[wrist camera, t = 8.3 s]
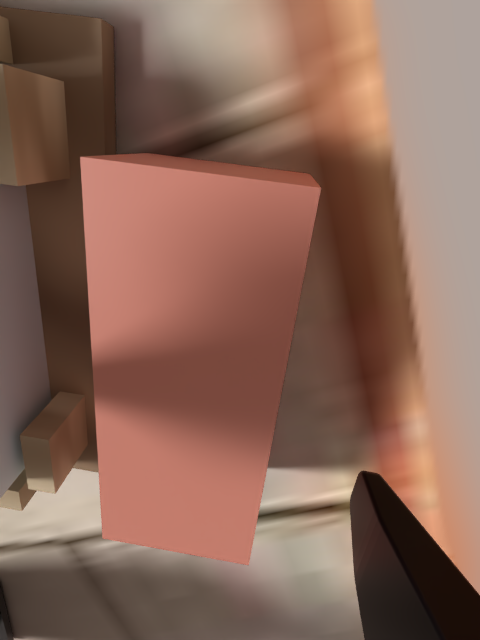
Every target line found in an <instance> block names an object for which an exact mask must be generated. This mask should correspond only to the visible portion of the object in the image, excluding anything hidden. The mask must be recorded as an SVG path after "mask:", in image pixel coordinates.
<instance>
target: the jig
mask: <svg viewBox="0 0 480 640" xmlns="http://www.w3.org/2000/svg"><path fill="white" fill-rule="evenodd" d="M101 155H116V127H115V72H114V27H113V26H111V25H110V24H108V23H107V22H105V21H104V20H103V19H101V18H93V17H85V16H76V15H68V14H59V13H51V12H42V11H33V10H25V9H16V8H8V7H0V184H5V185H12V186H23V185H26V193H27V201H28V209H29V218H30V226H31V234H32V243H33V251H34V259H35V268H36V276H37V284H38V293H39V301H40V309H41V318H42V326H43V334H44V343H45V351H46V359H47V368H48V376H49V384H50V393H51V401H50V403H49V404H48V405H47V406H46V407H45V408H44V409H43V410H42V411H41V412H40V413H39V415H38V416H37V417H36V418H35V419H34V420H33V421H32V422H31V423H30V424H29V425H28V427H27V428H26V429H25V430H24V431H23V432H22V433H21V434H20V441H21V447H22V453H23V459H24V465H25V469H24V470H23V471H22V472H21V474H20V475H19V476H18V477H17V478H16V480H15V481H14V482H13V483H12V485H11V486H10V487H9V488H8V490H7V491H6V492H5V493H4V495H3V496H2V497H1V498H0V507H3V508H8V509H14V510H19V511H22V510H23V509H24V507H25V506H26V505H27V503H28V502H29V501H30V499H31V498H32V496H33V495H34V494H35V492H36V491H43V492H48V493H54V494H55V493H56V492H57V490H58V489H59V487H60V486H61V484H62V483H63V481H64V480H65V478H66V477H67V475H68V474H69V472H70V471H71V469H72V468H76V469H82V470H88V471H93V472H99V468H98V451H97V434H96V417H95V400H94V383H93V367H92V350H91V333H90V316H89V299H88V282H87V265H86V249H85V232H84V215H83V198H82V181H81V164H80V157H83V156H101Z"/></svg>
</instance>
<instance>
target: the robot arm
mask: <svg viewBox="0 0 480 640" xmlns="http://www.w3.org/2000/svg"><path fill="white" fill-rule="evenodd" d="M350 515H351V531H352V547H353V564H354V577H355V584H356V591H357V597H358V603H359V609H360V615H361V621H362V627H363V633H364V639H365V640H480V595H479V594H478V593H477V591H476V590H475V589H474V588H473V586H472V585H471V584H470V583H469V582H468V580H467V579H466V578H465V577H464V576H463V574H462V573H461V572H460V571H459V570H458V568H457V567H456V566H455V565H454V564H453V562H452V561H451V560H450V559H449V557H448V556H447V555H446V554H445V553H444V551H443V550H442V549H441V548H440V547H439V545H438V544H437V543H436V542H435V541H434V539H433V538H432V537H431V536H430V534H429V533H428V532H427V531H426V530H425V528H424V527H423V526H422V525H421V524H420V522H419V521H418V520H417V519H416V518H415V516H414V515H413V514H412V513H411V511H410V510H409V509H408V508H407V507H406V505H405V504H404V503H403V502H402V501H401V499H400V498H399V497H398V496H397V495H396V493H395V492H394V491H393V490H392V488H391V487H390V486H389V485H388V484H387V482H386V481H385V480H384V479H383V478H382V476H381V475H379V474H378V473H373V472H368V471H361V472H360V473H359V474H358V477H357V480H356V483H355V486H354V489H353V491H352V494H351V499H350ZM0 640H14V639H13V635H12V630H11V626H10V622H9V618H8V614H7V610H6V606H5V602H4V597H3V593H2V589H1V586H0Z"/></svg>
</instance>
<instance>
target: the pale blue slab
mask: <svg viewBox="0 0 480 640" xmlns="http://www.w3.org/2000/svg"><path fill="white" fill-rule="evenodd" d="M50 401H51V393H50V384H49V376H48V368H47V359H46V351H45V343H44V334H43V326H42V318H41V309H40V301H39V293H38V284H37V276H36V268H35V259H34V251H33V243H32V234H31V226H30V218H29V209H28V201H27V193H26V185H23V186H12V185H5V184H0V498H1V497H2V496H3V495H4V493H5V492H6V491H7V490H8V488H9V487H10V486H11V485H12V483H13V482H14V481H15V480H16V478H17V477H18V476H19V475H20V474H21V472H22V471H23V470H24V469H25V465H24V459H23V453H22V447H21V441H20V434H21V433H22V432H23V431H24V430H25V429H26V428H27V427H28V425H29V424H30V423H31V422H32V421H33V420H34V419H35V418H36V417H37V416H38V415H39V413H40V412H41V411H42V410H43V409H44V408H45V407H46V406H47V405H48V404H49V403H50Z"/></svg>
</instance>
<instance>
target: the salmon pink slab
mask: <svg viewBox="0 0 480 640" xmlns="http://www.w3.org/2000/svg"><path fill="white" fill-rule="evenodd" d="M80 164H81V181H82V198H83V215H84V232H85V249H86V265H87V282H88V299H89V316H90V333H91V350H92V367H93V383H94V400H95V417H96V434H97V451H98V468H99V485H100V502H101V518H102V535H103V539H109V540H114V541H120V542H125V543H130V544H136V545H141V546H147V547H152V548H158V549H163V550H169V551H174V552H180V553H185V554H190V555H196V556H201V557H207V558H212V559H218V560H223V561H229V562H234V563H239V564H245V565H249V560H250V554H251V549H252V544H253V539H254V534H255V528H256V523H257V518H258V513H259V508H260V503H261V497H262V492H263V487H264V482H265V477H266V471H267V466H268V461H269V456H270V451H271V445H272V440H273V435H274V430H275V425H276V419H277V414H278V409H279V404H280V399H281V394H282V388H283V383H284V378H285V373H286V368H287V362H288V357H289V352H290V347H291V342H292V336H293V331H294V326H295V321H296V316H297V311H298V305H299V300H300V295H301V290H302V285H303V279H304V274H305V269H306V264H307V259H308V253H309V248H310V243H311V238H312V233H313V228H314V222H315V217H316V212H317V207H318V202H319V196H320V191H321V187H320V186H319V185H318V184H317V182H316V181H315V180H314V179H313V177H312V176H311V175H310V174H308V173H300V172H292V171H284V170H276V169H269V168H261V167H253V166H245V165H237V164H230V163H222V162H214V161H206V160H198V159H191V158H183V157H175V156H167V155H159V154H151V153H138V154H120V155H101V156H83V157H80Z"/></svg>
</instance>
